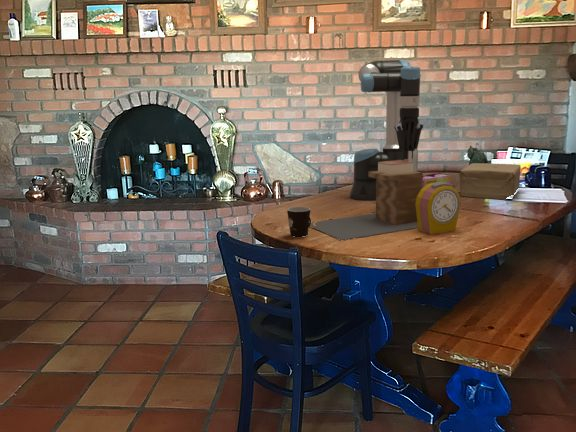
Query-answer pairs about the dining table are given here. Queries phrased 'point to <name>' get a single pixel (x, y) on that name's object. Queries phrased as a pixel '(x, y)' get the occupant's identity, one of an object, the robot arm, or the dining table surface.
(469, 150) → the ceramic cat
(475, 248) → the dining table surface
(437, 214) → the alarm clock
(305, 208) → the coffee mug
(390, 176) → the stand
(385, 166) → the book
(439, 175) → the gum box
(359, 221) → the mat
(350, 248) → the dining table surface
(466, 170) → the paper package
